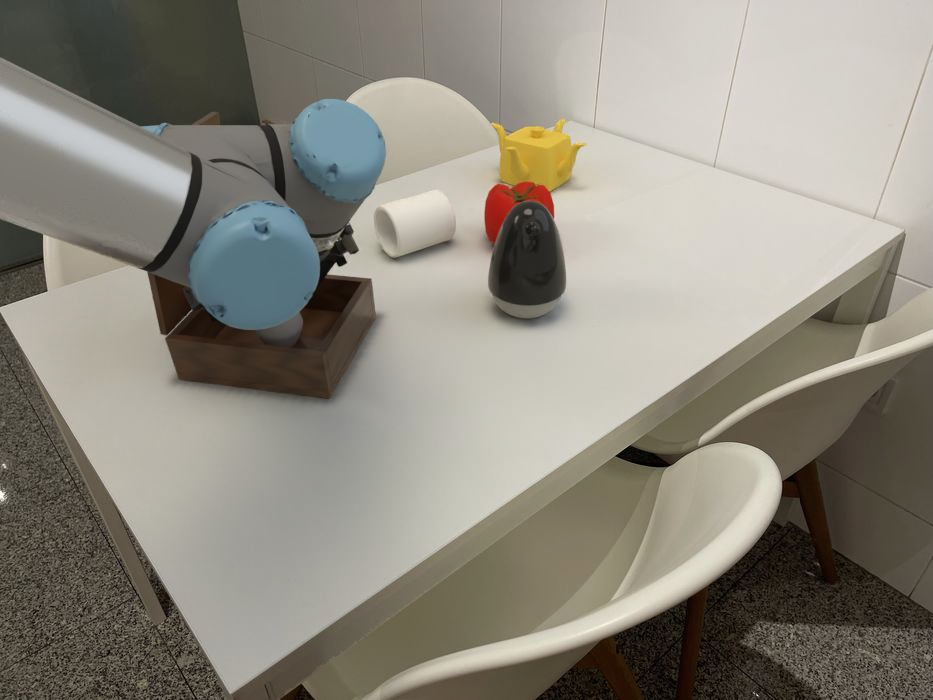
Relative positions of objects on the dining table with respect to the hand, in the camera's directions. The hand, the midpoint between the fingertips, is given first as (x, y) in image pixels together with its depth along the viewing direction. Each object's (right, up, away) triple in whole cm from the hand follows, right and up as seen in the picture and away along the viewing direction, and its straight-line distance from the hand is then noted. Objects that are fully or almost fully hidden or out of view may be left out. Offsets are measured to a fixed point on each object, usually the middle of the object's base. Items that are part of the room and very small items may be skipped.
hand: (264, 291), depth 85 cm
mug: (+16, +10, +25) cm, 31 cm away
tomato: (+33, +10, +24) cm, 42 cm away
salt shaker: (+2, -6, +2) cm, 7 cm away
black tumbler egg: (+33, -2, +9) cm, 34 cm away
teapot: (+37, +24, +44) cm, 63 cm away
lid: (-6, +7, -6) cm, 11 cm away
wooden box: (+2, -7, +3) cm, 7 cm away
